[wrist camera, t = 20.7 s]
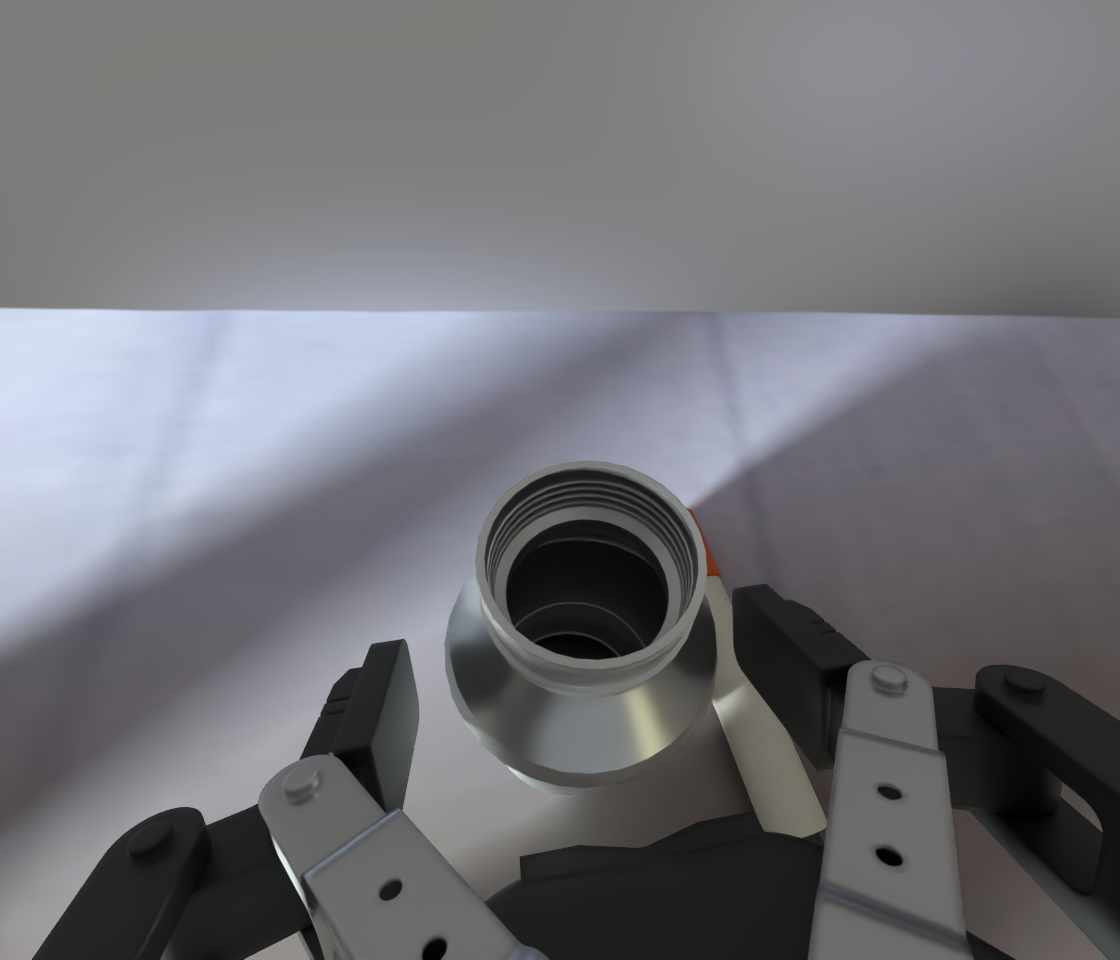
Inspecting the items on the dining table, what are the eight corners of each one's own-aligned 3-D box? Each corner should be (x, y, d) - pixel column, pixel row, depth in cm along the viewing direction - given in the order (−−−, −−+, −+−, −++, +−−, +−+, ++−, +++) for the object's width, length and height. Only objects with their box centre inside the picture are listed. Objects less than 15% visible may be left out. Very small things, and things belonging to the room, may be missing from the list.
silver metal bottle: (495, 650, 27) (396, 398, 10) (629, 645, 28) (756, 390, 10) (492, 798, 24) (340, 799, 7) (644, 791, 24) (865, 777, 7)
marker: (825, 848, 23) (863, 855, 21) (766, 869, 23) (795, 879, 20) (686, 525, 31) (699, 499, 28) (640, 537, 31) (648, 511, 28)
